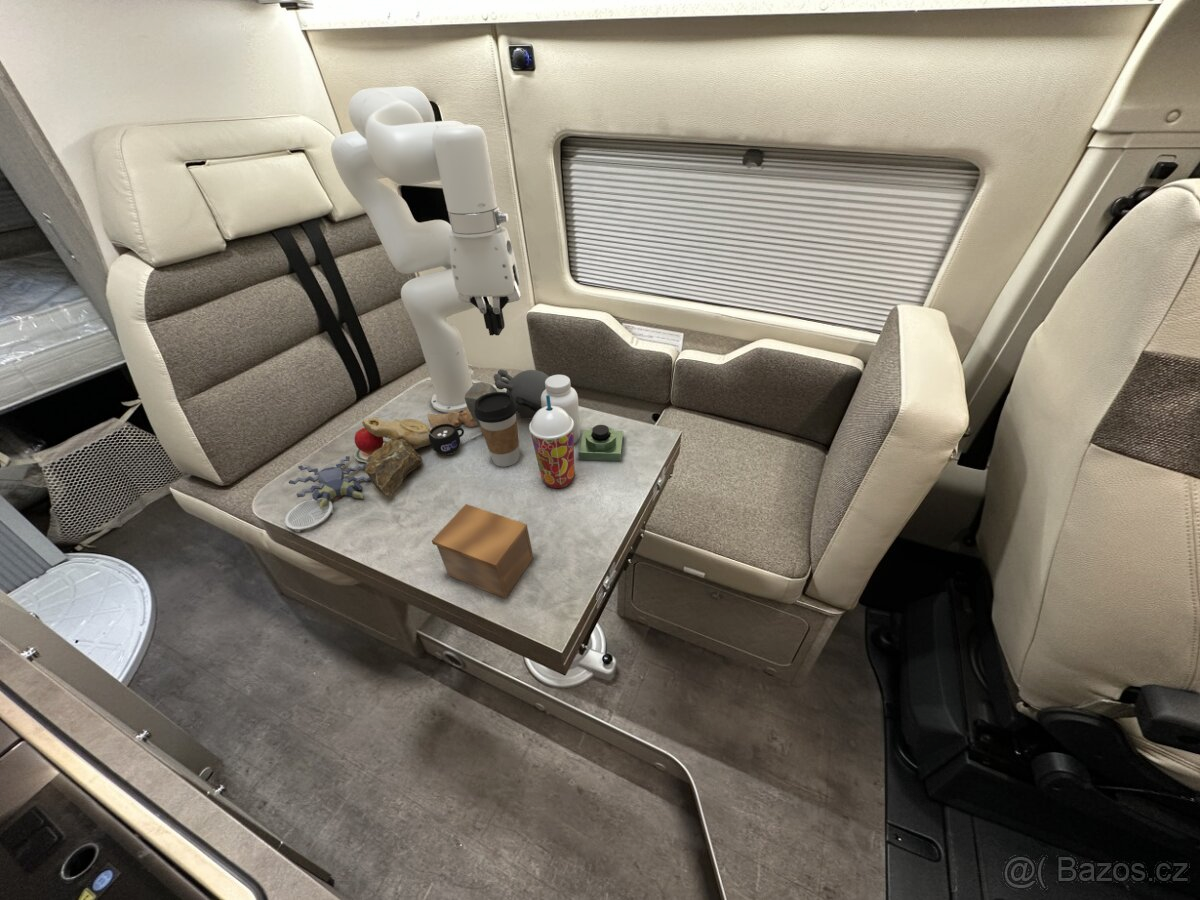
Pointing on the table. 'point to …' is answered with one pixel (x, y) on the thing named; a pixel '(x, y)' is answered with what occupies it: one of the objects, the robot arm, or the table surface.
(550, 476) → the smoothie
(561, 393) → the pill bottle
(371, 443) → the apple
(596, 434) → the button
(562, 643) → the table surface
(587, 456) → the button housing
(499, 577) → the box
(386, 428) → the oil lamp
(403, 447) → the rock
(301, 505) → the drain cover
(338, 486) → the toy
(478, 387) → the stone
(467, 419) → the figurine
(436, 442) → the mug
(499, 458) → the coffee cup
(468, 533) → the lid
